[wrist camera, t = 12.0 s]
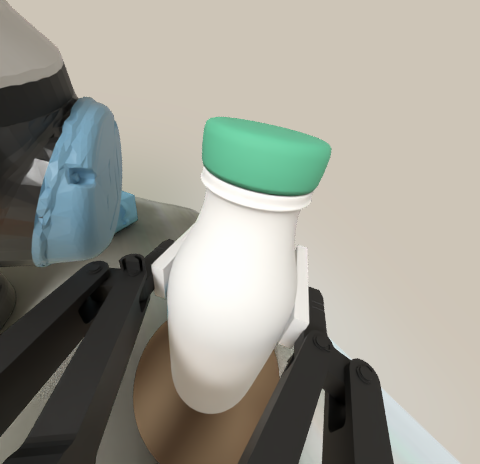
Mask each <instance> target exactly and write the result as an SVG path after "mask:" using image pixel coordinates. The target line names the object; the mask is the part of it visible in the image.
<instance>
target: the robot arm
mask: <svg viewBox="0 0 480 464" xmlns="http://www.w3.org/2000/svg"><path fill="white" fill-rule="evenodd" d="M121 192H122V156H121V144H120V136H119V130H118V127H117V124H116V122H115V120H114V115H113V114H112V112H111V111H110V109H109V108H108V107H107V106H105V105H103V104H101V103H98V102H96V101H95V100H94V99H92V98H90V97H83V98H78V97H77V96H76V94H75V92H74V89H73V87H72V84H71V81H70V78H69V76H68V73H67V70H66V67H65V65H64V62H63V59H62V56H61V54H60V51H59V50H58V48H57V47H56V46H55V45H54V44H53V43H52V42H51V41H49V39H47V38H46V37H45V36H44V35H43V34H42V33H40V32H39V31H38V30H37V29H36V28H35V27H33V26H32V25H31V24H30V23H29V22H28V21H27V20H26V19H24V18H23V17H22V16H21V15H20V14H19V13H18V12H16V11H15V10H14V9H13V8H12V7H11V6H10V5H9V4H8V2H7V1H6V0H0V267H10V266H32V265H35V266H36V267H46V266H49V265H50V264H52V263H62V262H73V261H83V260H88V259H92V258H94V257H96V256H98V255H100V254H101V253H102V252H103V251H104V250H105V249H106V248H107V247H108V246H109V244H110V243H111V241H112V239H113V236H114V233H115V230H116V227H117V222H118V217H119V211H120V203H121ZM194 224H195V223H194ZM194 224H193V225H192V226H191V227H190V228H189V229H188V230H187V231H186V232H185V233H184V234H183V235H182V236H181V237H180V238H178V239H177V240H176V241H173V240H170V239H168V240H166V241H164V242H162V243H161V244H160V245H159V246H158V247H156V248H155V249H154V251H152V252H151V253H150V254H149V255H147V256H146V257H145V258H144V257H143V256H142V255H140V254H129V255H126V256H124V257H122V258H121V259H120V260H119V263H120V267H121V269H118V268H109V265H108V264H107V263H106V262H104V261H95V262H91V263H88V264H87V265H85V266H84V267H82V268H81V269H80V270H79V271H77V272H76V273H75V274H74V275H73V276H71V277H70V278H69V279H68V280H67V281H65V282H64V283H63V284H62V285H60V286H59V287H58V288H57V289H56V290H54V291H53V292H52V293H51V294H50V295H48V296H47V297H46V298H45V299H43V300H42V301H41V302H40V303H39V304H37V305H36V306H35V307H34V308H33V309H31V310H30V311H29V312H28V313H26V314H25V315H24V316H23V317H22V318H20V319H19V320H18V321H17V322H16V323H14V324H13V325H12V326H11V327H9V328H8V329H7V330H6V331H5V332H3V333H2V334H1V335H0V437H1V436H2V434H3V433H4V432H5V431H6V430H7V428H8V427H9V426H10V425H11V424H12V422H13V421H14V420H15V419H16V418H17V416H18V415H19V414H20V413H21V412H22V410H23V409H24V408H25V407H26V406H27V404H28V403H29V402H30V401H31V400H32V398H33V397H34V396H35V395H36V394H37V392H38V391H39V390H40V389H41V388H42V386H43V385H44V384H45V383H46V382H47V380H48V379H49V378H50V377H51V376H52V375H53V373H54V372H55V371H56V370H57V369H58V367H59V366H60V365H61V364H62V363H63V361H64V360H65V359H66V358H67V357H68V355H69V354H70V353H71V352H72V351H73V349H74V348H75V347H76V346H77V345H78V343H79V342H80V341H81V340H82V339H83V340H82V342H81V343H80V345H79V347H78V349H77V350H76V352H75V354H74V356H73V357H72V359H71V361H70V363H69V365H68V366H67V368H66V370H65V372H64V373H63V375H62V377H61V379H60V380H59V382H58V384H57V386H56V387H55V389H54V391H53V393H52V394H51V396H50V398H49V400H48V401H47V403H46V405H45V407H44V409H43V410H42V412H41V414H40V416H39V417H38V419H37V421H36V423H35V424H34V426H33V428H32V430H31V431H30V433H29V435H28V437H27V438H26V440H25V441H24V443H23V444H22V445H21V447H20V448H19V449H18V450H17V451H16V452H14V453H13V454H12V455H11V456H9V457H8V458H7V459H6V460H5V461H4V462H3V463H2V464H95V462H96V455H97V451H98V448H99V445H100V442H101V439H102V436H103V433H104V430H105V427H106V425H107V422H108V419H109V416H110V413H111V410H112V407H113V404H114V401H115V399H116V396H117V393H118V390H119V387H120V384H121V381H122V378H123V376H124V373H125V370H126V367H127V364H128V361H129V358H130V355H131V352H132V350H133V347H134V344H135V341H136V338H137V335H138V332H139V329H140V326H141V324H142V321H143V318H144V315H145V312H146V309H147V306H148V303H149V301H150V294H151V293H152V292H153V290H154V292H155V295H156V296H158V297H161V298H163V299H166V298H167V289H168V282H169V275H170V271H171V268H172V264H173V261H174V259H175V256H176V254H177V252H178V250H179V248H180V246H181V245H182V243H183V241H184V240H185V238H186V237H187V235H188V234H189V232H190V231H191V229H192V227H193V226H194ZM295 258H296V267H297V293H296V299H295V304H294V307H293V310H292V313H291V316H290V319H289V321H288V324H287V326H286V328H285V330H284V331H283V333H282V335H281V337H280V339H279V342H278V344H280V345H282V346H285V347H287V348H290V349H291V348H292V347H293V346H294V353H293V355H292V356H291V357H290V359H289V360H288V361H287V362H288V364H287V366H286V368H285V370H284V372H283V374H282V376H281V378H280V380H279V382H278V384H277V386H276V388H275V390H274V392H273V394H272V396H271V398H270V400H269V402H268V404H267V406H266V408H265V410H264V412H263V414H262V416H261V418H260V420H259V422H258V424H257V426H256V428H255V430H254V432H253V434H252V436H251V438H250V440H249V442H248V444H247V446H246V448H245V450H244V452H243V454H242V456H241V458H240V460H239V462H238V464H298V463H299V460H300V456H301V453H302V450H303V447H304V444H305V441H306V437H307V434H308V431H309V428H310V425H311V421H312V418H313V415H314V412H315V409H316V406H317V402H318V399H319V396H320V393H321V390H322V388H323V389H324V390H325V405H324V428H323V452H322V464H394V462H393V456H392V451H391V445H390V439H389V433H388V427H387V421H386V415H385V409H384V403H383V397H382V391H381V386H380V381H379V378H378V376H377V374H376V372H375V371H374V369H373V368H372V367H371V366H370V365H369V364H368V363H366V362H364V361H363V360H360V359H358V358H357V359H353V360H350V359H348V358H347V357H346V356H344V355H343V354H341V353H340V352H339V351H338V350H336V349H335V348H334V347H333V345H332V342H331V340H330V339H329V337H328V336H327V330H326V321H325V313H324V306H323V305H324V302H323V297H322V295H321V293H320V291H319V290H317V289H314V288H311V287H308V256H307V248H306V247H303V246H300V245H298V246H297V248H296V250H295ZM15 301H16V293H15V290H14V288H13V286H12V285H11V284H10V283H9V281H8V280H7V279H6V278H5V276H4V275H3V274H2V273H0V329H1V328H2V326H3V325H4V324H5V322H6V321H7V319H8V318H9V316H10V315H11V313H12V311H13V308H14V305H15ZM83 337H84V338H83Z"/></svg>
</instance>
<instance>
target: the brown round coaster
mask: <svg viewBox="0 0 480 464" xmlns="http://www.w3.org/2000/svg"><path fill="white" fill-rule="evenodd" d="M279 380H280V377H279V368H278V363H277V358H276V355H275V352H274V349H273V351H272V353H271V355H270V356H269V358H268V360H267V361H266V363H265V365H264V366H263V368H262V369H261V371H260V373H259V374H258V376H257V378H256V379H255V381H254V382H253V384H252V386H251V387H250V389H249V390H248V392H247V393H246V394H245V396H244V397H243V398H242V399H241V400H240V401H239V402H238V403H237V404H236V405H235V406H233V407H232V408H230V409H229V410H227V411H224V412H221V413H216V414H206V413H201V412H198V411H196V410H194V409H192V408H191V407H189V406H188V405H187V404H186V403H185V402H184V401H183V400H182V399H181V397H180V396H179V394H178V393H177V391H176V388H175V386H174V382H173V378H172V372H171V361H170V349H169V335H168V320H167V321H165V322H164V323H163V324H162V325H161V326H160V327H159V329H158V330H157V331H156V332H155V333H154V335H153V336H152V337H151V339H150V340H149V342H148V344H147V346H146V347H145V349H144V351H143V354H142V356H141V358H140V361H139V364H138V367H137V370H136V375H135V380H134V389H133V406H134V414H135V419H136V423H137V426H138V429H139V432H140V435H141V437H142V439H143V441H144V443H145V445H146V447H147V448H148V450H149V451H150V452H151V454H152V455H153V456H154V458H155V459H156V460H157V461H158V462H159V463H160V464H238V462H239V460H240V458H241V456H242V454H243V452H244V450H245V448H246V446H247V444H248V442H249V440H250V438H251V436H252V434H253V432H254V430H255V428H256V426H257V424H258V422H259V420H260V418H261V416H262V414H263V412H264V410H265V408H266V406H267V404H268V402H269V400H270V398H271V396H272V394H273V392H274V390H275V388H276V386H277V384H278V382H279Z"/></svg>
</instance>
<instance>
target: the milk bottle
mask: <svg viewBox="0 0 480 464" xmlns="http://www.w3.org/2000/svg"><path fill="white" fill-rule="evenodd" d="M330 155H331V147H330V145H329V144H328V143H326V142H325V141H323V140H321V139H319V138H316V137H313V136H310V135H307V134H304V133H301V132H297V131H294V130H290V129H287V128H282V127H278V126H274V125H269V124H265V123H260V122H255V121H249V120H244V119H237V118H228V117H215V118H210V119H209V120H207V122H206V125H205V128H204V135H203V144H202V160H203V164H204V167H203V172H202V174H201V180H202V182H203V184H204V185H205V186H206V195H205V199H204V203H203V206H202V209H201V211H200V213H199V216H198V218H197V220H196V222H195V224H194V226H193V227H192V229H191V231H190V232H189V234H188V235H187V237H186V238H185V240H184V241H183V243H182V245H181V246H180V248H179V250H178V252H177V254H176V256H175V259H174V261H173V264H172V268H171V271H170V275H169V282H168V289H167V318H168V335H169V349H170V361H171V372H172V378H173V382H174V386H175V388H176V391H177V393H178V394H179V396H180V397H181V399H182V400H183V401H184V402H185V403H186V404H187V405H188V406H189V407H191V408H192V409H194V410H196V411H198V412H201V413H206V414H216V413H221V412H224V411H227V410H229V409H230V408H232V407H233V406H235V405H236V404H237V403H238V402H239V401H240V400H241V399H242V398H243V397H244V396H245V394H246V393H247V392H248V390H249V389H250V387H251V386H252V384H253V382H254V381H255V379H256V378H257V376H258V374H259V373H260V371H261V369H262V368H263V366H264V365H265V363H266V361H267V360H268V358H269V356H270V355H271V353H272V351H273V349H274V348H275V346H276V344H277V343H278V341H279V339H280V337H281V335H282V333H283V331H284V330H285V328H286V326H287V324H288V321H289V319H290V316H291V313H292V310H293V307H294V304H295V299H296V293H297V267H296V258H295V230H296V223H297V219H298V215H299V213H300V210H301V209H303V208H305V207H307V206H308V205H309V204H310V203H311V201H312V193H313V191H314V189H315V188H316V187H317V186H318V184H319V182H320V180H321V178H322V176H323V174H324V172H325V169H326V167H327V164H328V162H329V159H330Z"/></svg>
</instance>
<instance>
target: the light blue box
mask: <svg viewBox="0 0 480 464" xmlns="http://www.w3.org/2000/svg"><path fill="white" fill-rule="evenodd" d="M137 220H138V216H137V209H136V203H135V196H134V195H133V194H130V193H127V192H124V191H122V192H121V203H120V211H119V217H118V222H117V227H116V230H115V233H116V232H118V231H120V230H121V229H123V228H125V227H127V226H128V225H130V224H132V223H134V222H135V221H137ZM115 233H114V234H115Z"/></svg>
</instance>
